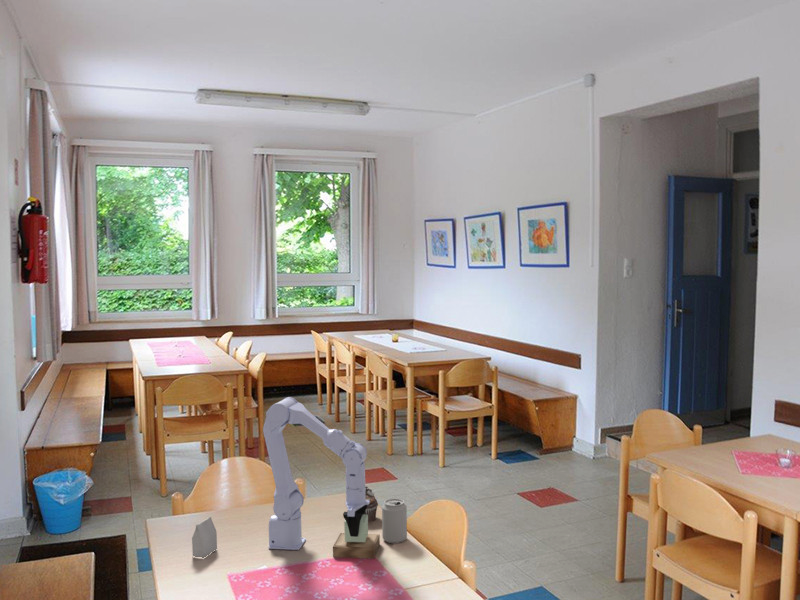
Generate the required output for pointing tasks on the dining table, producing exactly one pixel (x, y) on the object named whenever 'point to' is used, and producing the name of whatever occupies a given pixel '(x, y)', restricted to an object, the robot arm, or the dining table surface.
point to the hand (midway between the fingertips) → (356, 531)
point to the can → (394, 521)
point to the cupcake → (371, 504)
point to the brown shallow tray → (356, 547)
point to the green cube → (362, 531)
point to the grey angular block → (204, 538)
